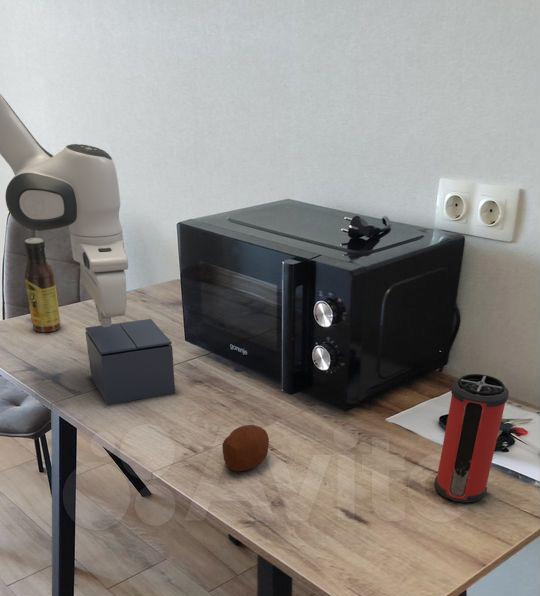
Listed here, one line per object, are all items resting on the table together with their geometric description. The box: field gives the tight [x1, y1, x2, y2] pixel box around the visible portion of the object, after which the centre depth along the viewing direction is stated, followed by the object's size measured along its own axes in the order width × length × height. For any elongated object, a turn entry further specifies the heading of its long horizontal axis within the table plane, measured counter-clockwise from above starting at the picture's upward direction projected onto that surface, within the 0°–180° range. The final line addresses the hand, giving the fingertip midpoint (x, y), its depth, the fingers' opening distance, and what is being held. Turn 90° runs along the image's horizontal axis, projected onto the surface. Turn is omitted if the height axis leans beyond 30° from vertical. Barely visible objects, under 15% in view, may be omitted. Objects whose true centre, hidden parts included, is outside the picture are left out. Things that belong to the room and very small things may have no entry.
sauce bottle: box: [23, 237, 61, 333], centre depth 154 cm, size 7×6×20 cm
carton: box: [85, 318, 176, 406], centre depth 133 cm, size 13×13×10 cm
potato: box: [221, 424, 270, 472], centre depth 111 cm, size 7×9×6 cm
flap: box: [84, 322, 137, 354], centre depth 129 cm, size 6×13×1 cm, turn 25°
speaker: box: [434, 373, 510, 504], centre depth 103 cm, size 8×8×18 cm
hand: (105, 324), depth 130 cm, fingers closed
